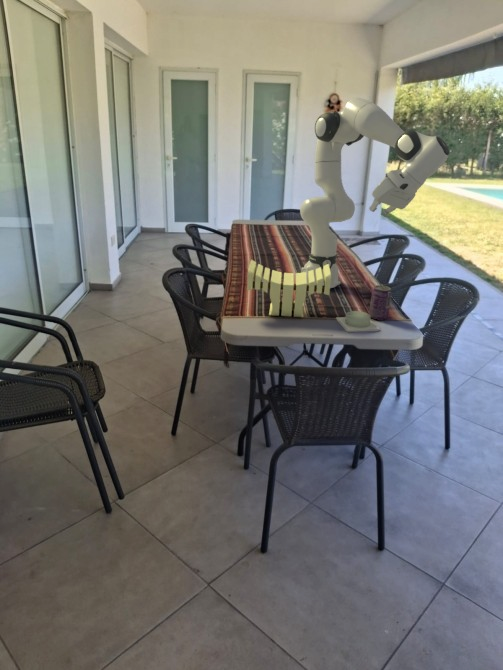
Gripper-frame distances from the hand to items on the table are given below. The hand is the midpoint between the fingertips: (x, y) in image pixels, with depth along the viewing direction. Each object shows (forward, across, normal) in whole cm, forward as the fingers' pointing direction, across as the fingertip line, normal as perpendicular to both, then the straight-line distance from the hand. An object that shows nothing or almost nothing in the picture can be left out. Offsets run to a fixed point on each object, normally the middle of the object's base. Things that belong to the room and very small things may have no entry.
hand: (377, 212), depth 173 cm
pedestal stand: (+31, +1, +27) cm, 41 cm away
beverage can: (+28, -12, +26) cm, 40 cm away
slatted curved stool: (+48, +10, +7) cm, 49 cm away
